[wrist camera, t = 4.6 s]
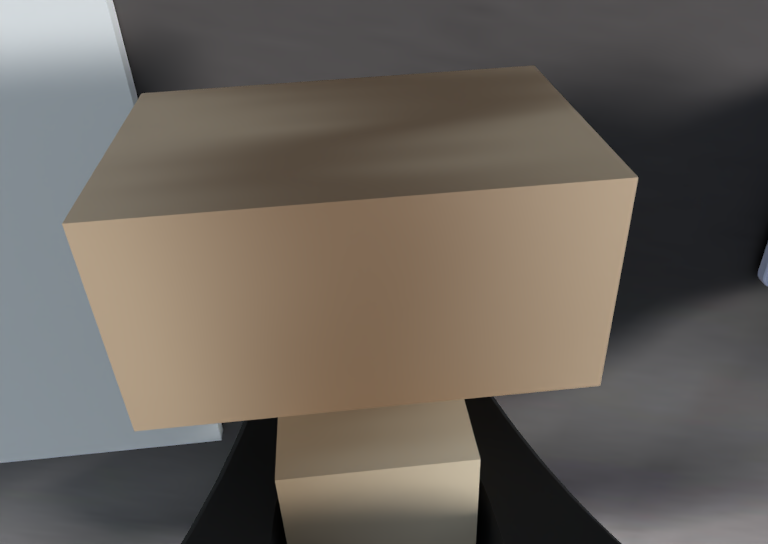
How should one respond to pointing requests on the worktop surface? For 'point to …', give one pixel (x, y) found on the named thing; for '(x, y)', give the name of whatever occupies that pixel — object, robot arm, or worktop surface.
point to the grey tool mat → (59, 232)
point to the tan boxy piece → (355, 277)
